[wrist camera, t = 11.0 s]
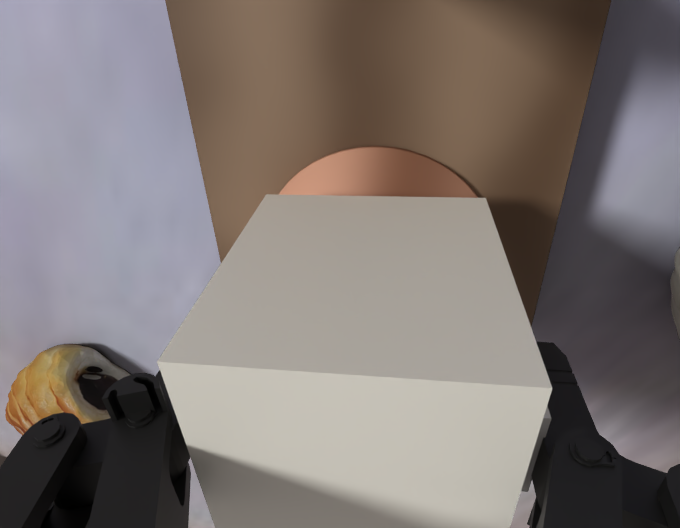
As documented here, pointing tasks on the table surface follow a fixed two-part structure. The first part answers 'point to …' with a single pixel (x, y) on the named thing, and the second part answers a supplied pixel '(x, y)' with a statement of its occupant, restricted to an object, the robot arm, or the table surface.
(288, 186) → the board
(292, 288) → the matte off-white cube
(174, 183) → the table surface
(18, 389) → the pastry
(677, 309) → the canister
